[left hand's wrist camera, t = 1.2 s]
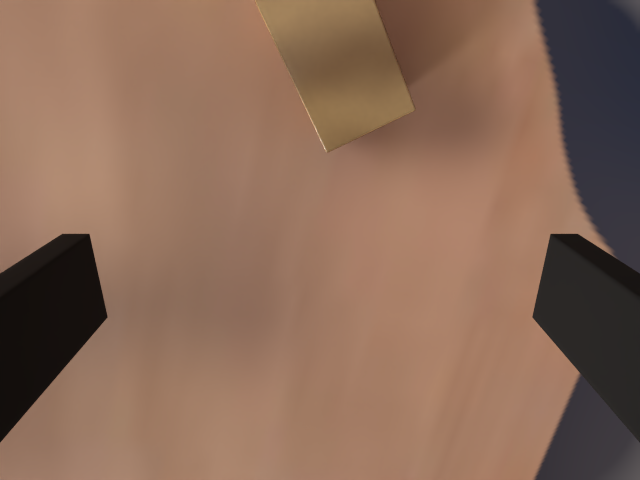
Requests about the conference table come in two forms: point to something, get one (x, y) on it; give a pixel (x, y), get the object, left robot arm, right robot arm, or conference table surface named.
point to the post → (339, 65)
